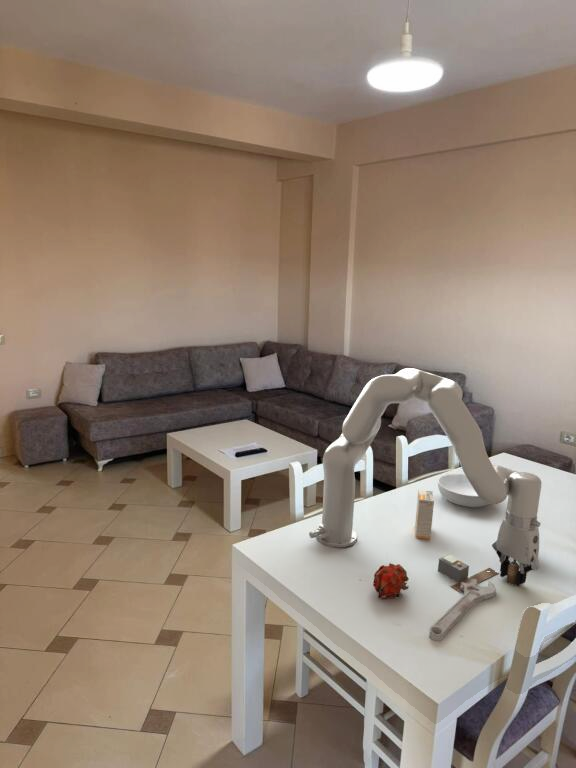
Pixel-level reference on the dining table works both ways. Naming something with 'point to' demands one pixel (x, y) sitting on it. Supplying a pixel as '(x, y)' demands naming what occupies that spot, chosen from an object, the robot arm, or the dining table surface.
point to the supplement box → (424, 514)
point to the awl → (512, 572)
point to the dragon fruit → (390, 580)
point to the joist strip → (478, 577)
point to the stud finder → (453, 568)
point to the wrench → (461, 607)
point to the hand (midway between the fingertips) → (512, 579)
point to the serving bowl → (459, 490)
